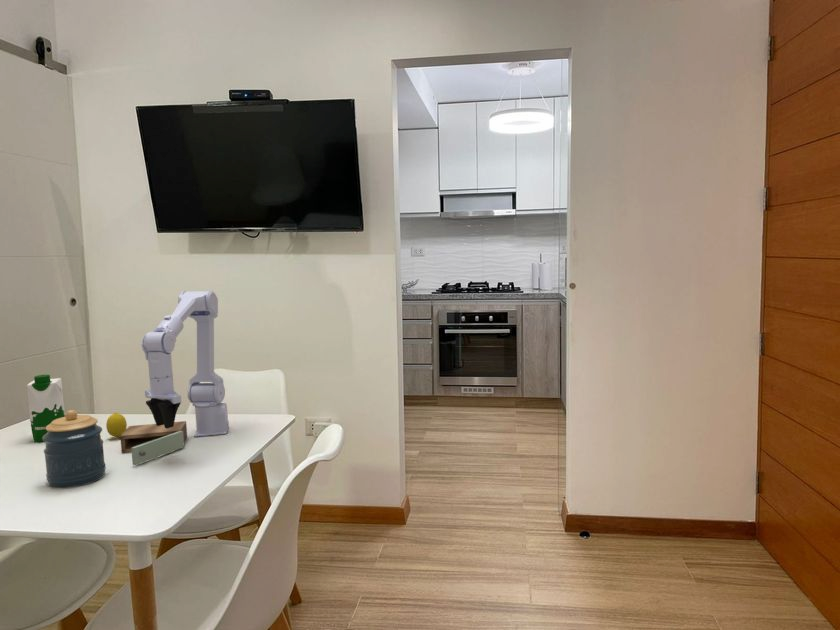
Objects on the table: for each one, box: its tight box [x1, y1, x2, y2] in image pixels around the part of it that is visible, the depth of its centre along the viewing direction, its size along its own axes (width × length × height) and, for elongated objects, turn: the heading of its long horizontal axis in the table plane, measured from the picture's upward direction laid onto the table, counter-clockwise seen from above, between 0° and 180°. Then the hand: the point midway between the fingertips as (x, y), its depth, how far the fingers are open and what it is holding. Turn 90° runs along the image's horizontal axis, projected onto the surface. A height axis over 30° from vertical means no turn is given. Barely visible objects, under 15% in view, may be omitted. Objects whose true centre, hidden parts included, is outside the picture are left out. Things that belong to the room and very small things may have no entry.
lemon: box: [105, 412, 128, 439], centre depth 184 cm, size 6×6×8 cm
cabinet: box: [119, 420, 188, 454], centre depth 176 cm, size 16×10×5 cm, turn 103°
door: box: [131, 431, 185, 466], centre depth 166 cm, size 16×2×5 cm, turn 153°
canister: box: [42, 409, 107, 489], centre depth 150 cm, size 13×13×18 cm
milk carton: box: [26, 374, 66, 444], centre depth 186 cm, size 9×9×20 cm
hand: (165, 426), depth 162 cm, fingers open, 4 cm apart
